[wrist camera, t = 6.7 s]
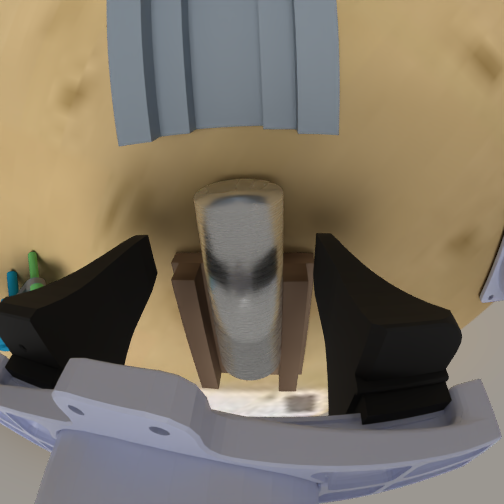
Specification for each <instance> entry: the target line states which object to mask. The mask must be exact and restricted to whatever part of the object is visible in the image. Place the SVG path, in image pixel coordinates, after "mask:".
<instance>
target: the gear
mask: <svg viewBox="0 0 504 504" xmlns="http://www.w3.org/2000/svg"><path fill="white" fill-rule="evenodd" d="M28 261H29V271H30V279H29V280H27V281H26V282H25V284H24V285H23V286H22V288H21V289H20V290H19V289H18V279H17V273H16V272H15V271H10V272H8V273H7V282H8V292H9V296H13V295H17V294H21V293H25V292H28V291H31V290H34V289H37V288H40V287H43V286H46V282H45V280H44V279H43V278H40V277H39V272H38V263H37V254H36V253H35V252H30V253H29V254H28ZM2 300H3V299H2ZM2 300H1V301H2ZM0 350H1V351H10V350H9V349H8V348H7V346H6V345H5V343H4V342H3V341H2V339H1V338H0Z"/></svg>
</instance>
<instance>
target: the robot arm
mask: <svg viewBox="0 0 504 504" xmlns="http://www.w3.org/2000/svg"><path fill="white" fill-rule="evenodd" d="M156 276H157V269H156V266H155V262H154V258H153V254H152V250H151V246H150V242H149V237H148V235H136V236H133V237H131V238H129V239H128V240H126V241H124V242H123V243H121V244H119V245H118V246H116V247H115V248H113V249H112V250H110V251H109V252H107V253H106V254H104V255H102V256H101V257H99V258H98V259H96V260H94V261H93V262H91V263H90V264H88V265H86V266H85V267H83V268H81V269H79V270H78V271H76V272H74V273H72V274H70V275H68V276H66V277H64V278H62V279H59V280H57V281H55V282H53V283H50V284H48V285H46V286H43V287H40V288H37V289H34V290H31V291H28V292H25V293H21V294H17V295H13V296H9V297H5V298H4V299H3V300H2V301H1V302H0V338H1V339H2V341H3V342H4V343H5V345H6V346H7V348H8V349H9V350H10V352H11V353H12V356H11V358H10V359H8V358H7V357H6V356H4V355H2V354H0V423H1V424H3V425H4V426H6V427H7V428H9V429H11V430H12V431H14V432H16V433H17V434H19V435H21V436H22V437H24V438H26V439H28V440H29V441H31V442H33V443H35V444H36V445H38V446H40V447H42V448H43V449H46V450H47V451H49V452H51V455H50V458H49V461H48V463H47V466H46V469H45V472H44V475H43V478H42V481H41V484H40V487H39V490H38V494H37V498H36V500H35V504H319V503H327V502H334V501H341V500H346V499H352V498H358V497H362V496H367V495H372V494H376V493H380V492H385V491H389V490H393V489H396V488H400V487H403V486H407V485H410V484H413V483H417V482H420V481H423V480H426V479H429V478H432V477H435V476H438V475H441V474H444V473H447V472H449V471H452V470H455V469H458V468H460V467H463V466H464V465H466V464H467V463H469V462H470V461H472V460H473V459H475V458H476V457H478V456H479V455H480V454H482V453H483V452H484V451H486V450H487V449H489V448H490V447H491V446H492V445H494V444H495V443H496V442H498V441H499V440H500V439H501V437H502V436H501V432H500V429H499V426H498V423H497V420H496V417H495V414H494V412H493V409H492V406H491V403H490V401H489V398H488V396H487V393H486V390H485V388H484V386H483V383H482V381H481V379H476V380H472V381H468V382H464V383H461V384H457V385H455V386H453V387H451V388H450V389H449V390H448V388H447V385H446V382H445V381H447V380H448V378H449V376H448V373H447V371H446V368H447V366H448V365H449V363H450V361H451V360H452V358H453V357H454V355H455V353H456V352H457V350H458V348H459V346H460V344H461V339H462V334H461V330H460V328H459V326H458V324H457V322H456V320H455V319H454V317H453V315H452V313H451V312H450V310H447V309H444V308H442V307H439V306H436V305H433V304H430V303H427V302H425V301H423V300H421V299H418V298H416V297H414V296H412V295H410V294H408V293H406V292H404V291H402V290H400V289H399V288H397V287H395V286H393V285H392V284H390V283H388V282H387V281H385V280H384V279H382V278H381V277H379V276H378V275H377V274H375V273H374V272H372V271H371V270H370V269H369V268H367V267H366V266H365V265H364V264H363V263H361V262H360V261H359V260H358V259H357V258H356V257H355V256H354V255H352V254H351V253H350V252H349V251H348V250H347V249H346V248H345V247H344V246H343V245H342V244H341V243H340V242H339V241H338V240H337V239H336V238H335V237H334V236H333V235H332V234H331V233H316V245H315V257H314V268H313V280H314V291H315V297H316V302H317V306H318V311H319V315H320V320H321V324H322V329H323V334H324V339H325V347H326V359H327V375H328V402H329V416H316V417H246V416H240V415H235V414H230V413H226V412H221V411H217V410H212V409H211V408H210V406H209V403H208V400H207V397H206V396H205V395H204V394H203V392H202V391H201V390H200V389H199V388H198V387H197V385H196V384H194V383H192V382H190V381H189V380H187V379H185V378H183V377H181V376H179V375H176V374H172V373H168V372H164V371H160V370H153V369H146V368H139V367H132V366H126V365H124V364H125V360H126V356H127V352H128V348H129V345H130V342H131V338H132V335H133V333H134V330H135V328H136V325H137V323H138V321H139V319H140V317H141V314H142V312H143V310H144V308H145V306H146V304H147V301H148V299H149V297H150V295H151V292H152V290H153V287H154V283H155V280H156ZM480 300H481V302H482V303H486V302H494V301H502V300H504V236H503V239H502V242H501V245H500V248H499V251H498V253H497V256H496V259H495V261H494V264H493V267H492V269H491V271H490V274H489V276H488V279H487V281H486V283H485V286H484V288H483V290H482V292H481V294H480Z"/></svg>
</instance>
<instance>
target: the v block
mask: <svg viewBox="0 0 504 504" xmlns="http://www.w3.org/2000/svg"><path fill="white" fill-rule="evenodd" d="M107 40H108V58H109V71H110V82H111V92H112V101H113V110H114V117H115V125H116V131H117V138H118V144H119V146H125V145H131V144H138V143H145V142H152V141H154V140H155V139H157V138H159V137H161V136H168V135H177V134H187V133H191V132H192V131H194V130H196V129H203V128H217V127H234V126H263V129H296V130H297V132H298V134H330V135H339V39H338V19H337V4H336V0H107Z"/></svg>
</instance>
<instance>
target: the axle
mask: <svg viewBox="0 0 504 504" xmlns="http://www.w3.org/2000/svg"><path fill="white" fill-rule="evenodd" d="M194 205H195V212H196V219H197V225H198V232H199V239H200V245H201V251H202V257H203V264H204V270H205V275H206V281H207V287H208V293H209V298H210V304H211V309H212V315H213V320H214V325H215V330H216V335H217V340H218V345H219V350H220V355H221V360H222V364H223V366H224V368H225V370H226V371H227V372H228V373H229V374H231V375H232V376H234V377H236V378H239V379H243V380H257V379H261V378H264V377H266V376H268V375H270V374H271V373H272V372H274V371H275V370H276V368H277V367H278V365H279V363H280V359H281V333H282V293H283V190H282V188H281V187H280V186H278V185H277V184H275V183H272V182H269V181H265V180H259V179H232V180H226V181H221V182H217V183H213V184H210V185H208V186H205V187H203V188H202V189H200V190H199V191H198V192H197V193H196V194H195V195H194Z"/></svg>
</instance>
